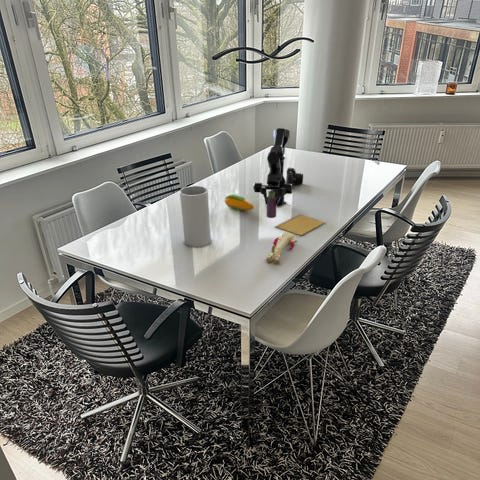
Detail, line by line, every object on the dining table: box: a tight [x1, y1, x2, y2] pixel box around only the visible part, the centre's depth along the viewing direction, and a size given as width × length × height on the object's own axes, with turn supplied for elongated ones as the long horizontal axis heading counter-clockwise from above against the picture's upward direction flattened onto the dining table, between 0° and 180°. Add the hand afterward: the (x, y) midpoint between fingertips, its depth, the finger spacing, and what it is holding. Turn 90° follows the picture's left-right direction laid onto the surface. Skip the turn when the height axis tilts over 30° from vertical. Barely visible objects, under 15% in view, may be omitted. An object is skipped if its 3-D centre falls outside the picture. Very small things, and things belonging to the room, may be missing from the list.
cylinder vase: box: [179, 185, 212, 248], centre depth 211 cm, size 12×12×25 cm
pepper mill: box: [266, 190, 277, 219], centre depth 222 cm, size 5×5×12 cm
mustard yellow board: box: [275, 214, 325, 237], centre depth 231 cm, size 20×16×1 cm
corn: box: [224, 194, 255, 212], centre depth 248 cm, size 7×8×20 cm
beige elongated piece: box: [265, 231, 298, 265], centre depth 205 cm, size 10×9×25 cm
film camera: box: [285, 167, 304, 187], centre depth 279 cm, size 18×12×10 cm
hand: (271, 204), depth 221 cm, fingers closed on pepper mill, 5 cm apart
